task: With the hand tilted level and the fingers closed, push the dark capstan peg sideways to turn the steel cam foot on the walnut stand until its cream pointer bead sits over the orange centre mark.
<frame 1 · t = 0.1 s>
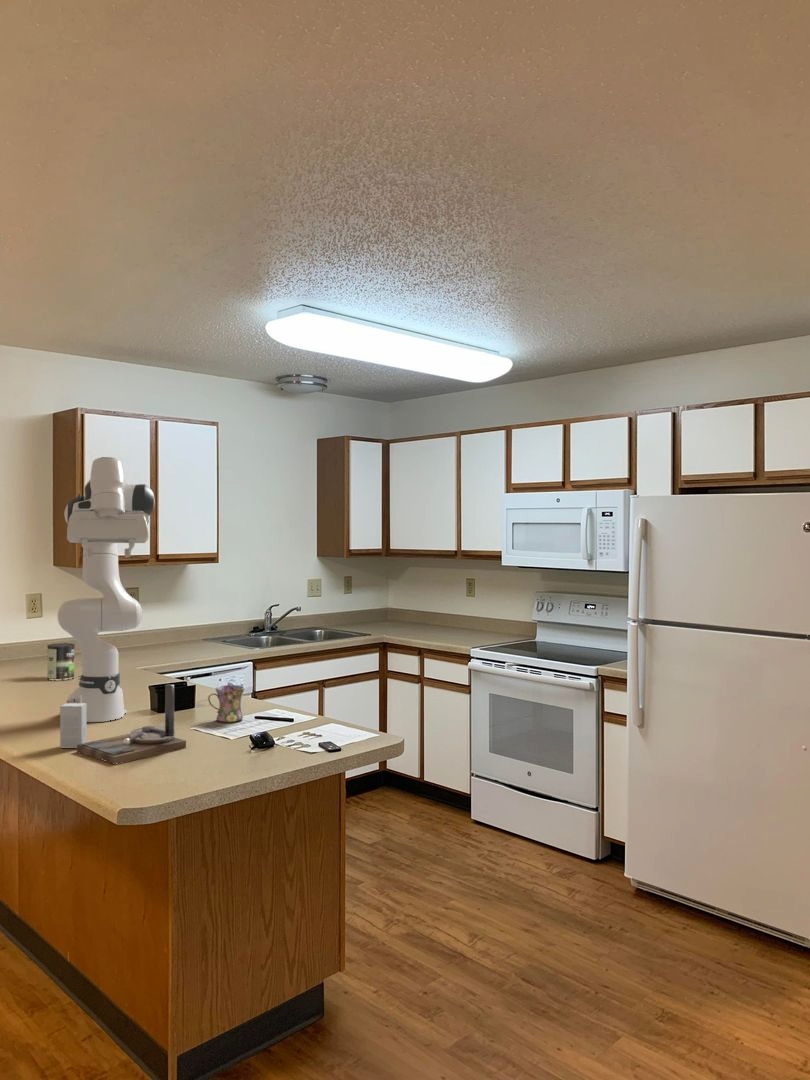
hand: (108, 556, 210), 54 cm above the countertop, tool tilted 30°, fingers open, 8 cm apart
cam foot: (150, 713, 223), point 10 cm above the countertop, hinge at 32.0°
coffee can: (60, 679, 330), on the countertop
stand: (132, 749, 224), on the countertop
skincare box: (73, 747, 226), on the countertop
mug: (225, 721, 259), on the countertop
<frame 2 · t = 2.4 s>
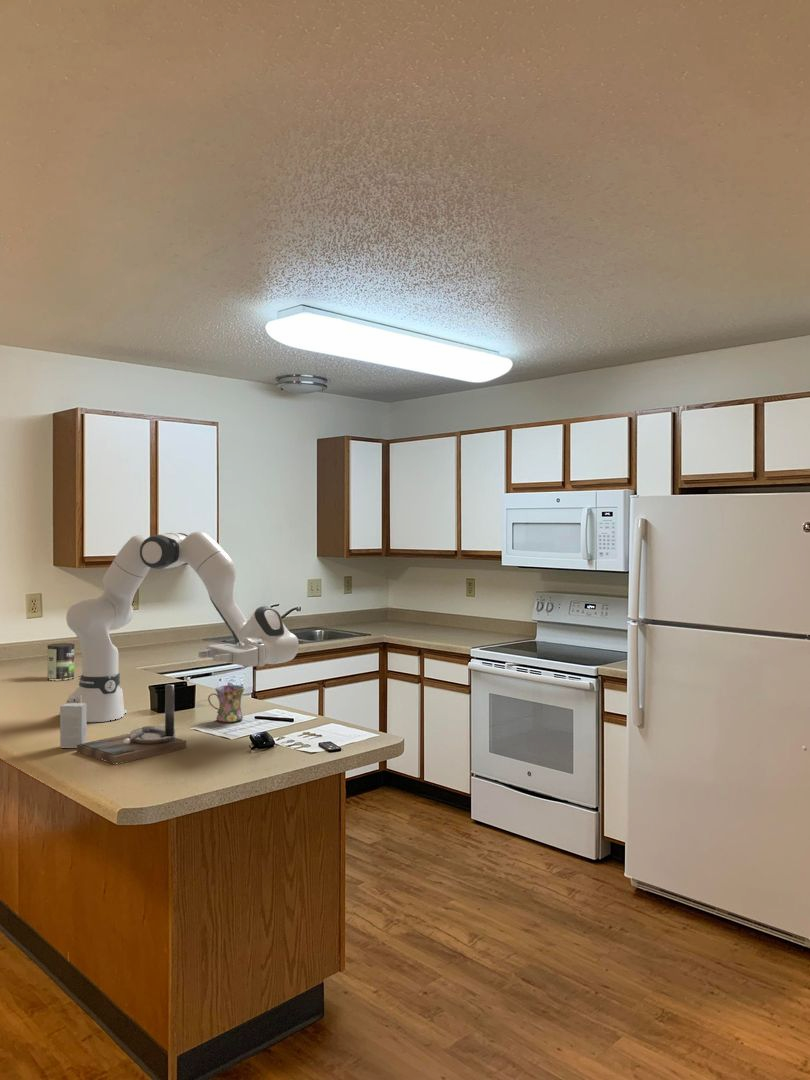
hand: (206, 656, 230), 25 cm above the countertop, tool horizontal, fingers open, 8 cm apart
nothing on the countertop moved.
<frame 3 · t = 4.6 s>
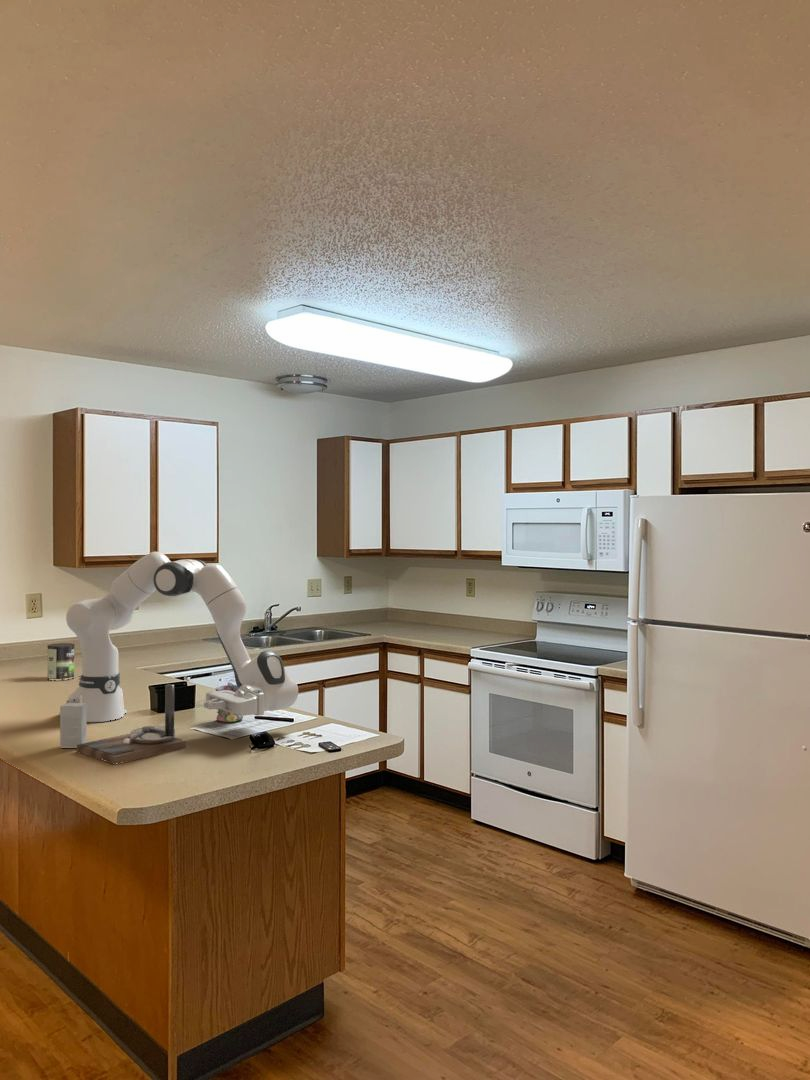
hand: (206, 705, 230), 11 cm above the countertop, tool horizontal, fingers closed
nothing on the countertop moved.
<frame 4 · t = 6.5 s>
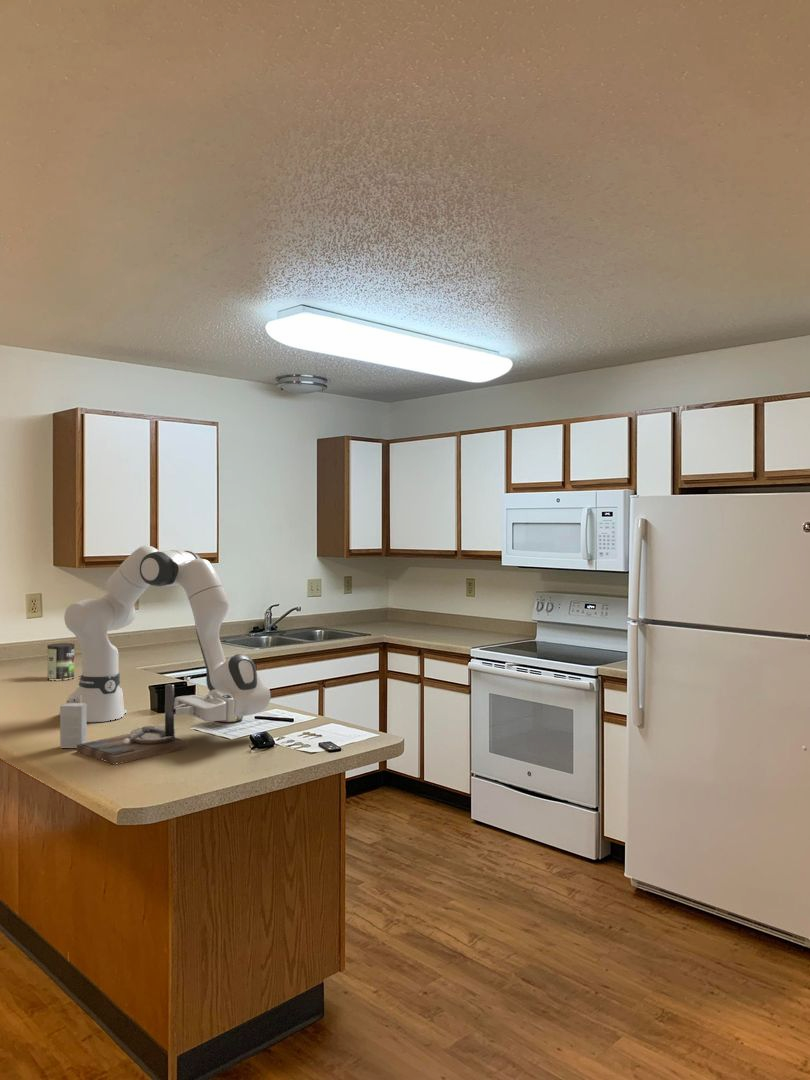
hand: (173, 711, 223), 11 cm above the countertop, tool horizontal, fingers closed, pressing on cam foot
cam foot: (150, 713, 223), point 10 cm above the countertop, hinge at 31.8°, touching gripper
everything else where it was.
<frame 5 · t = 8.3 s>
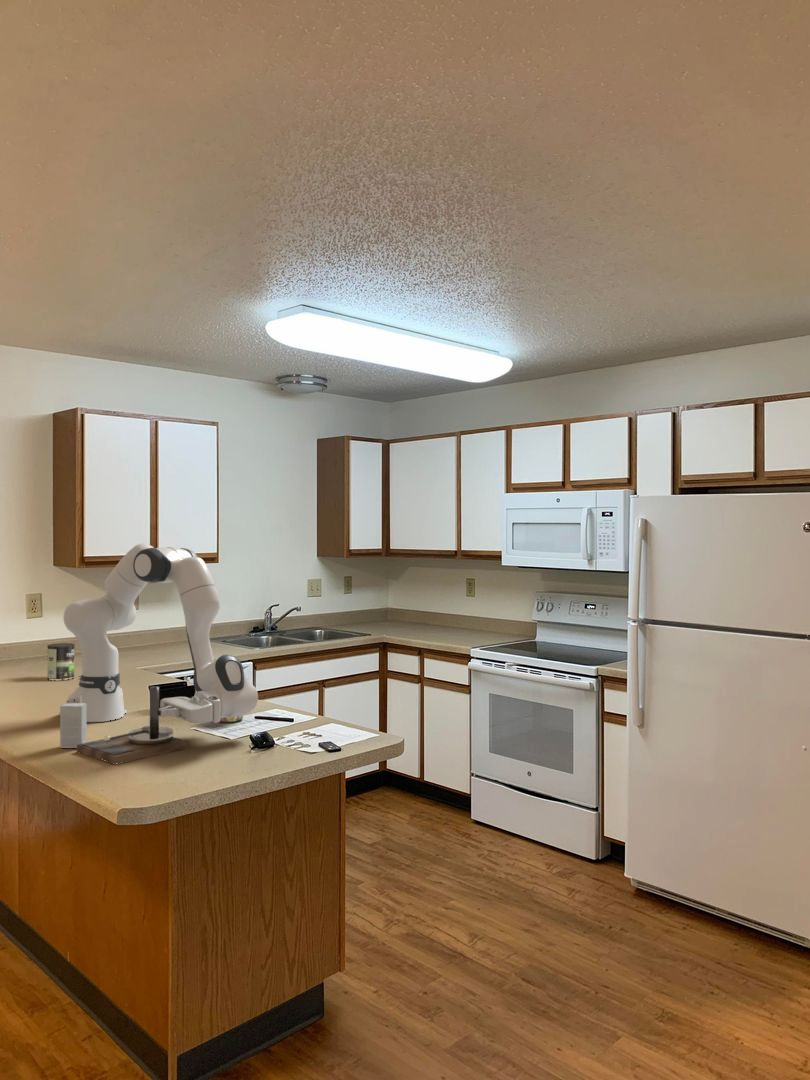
hand: (159, 713, 220), 11 cm above the countertop, tool horizontal, fingers closed
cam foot: (141, 713, 223), point 10 cm above the countertop, hinge at 3.2°
everything else where it was.
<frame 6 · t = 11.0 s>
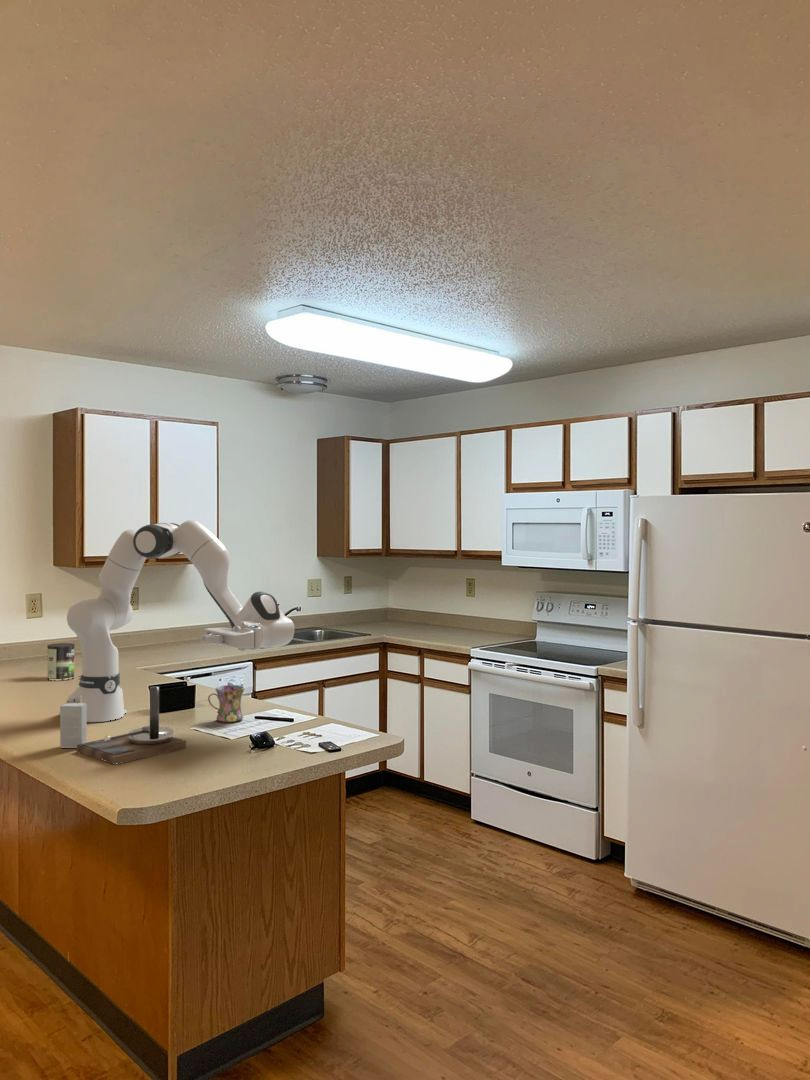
hand: (203, 639, 233), 30 cm above the countertop, tool horizontal, fingers closed
nothing on the countertop moved.
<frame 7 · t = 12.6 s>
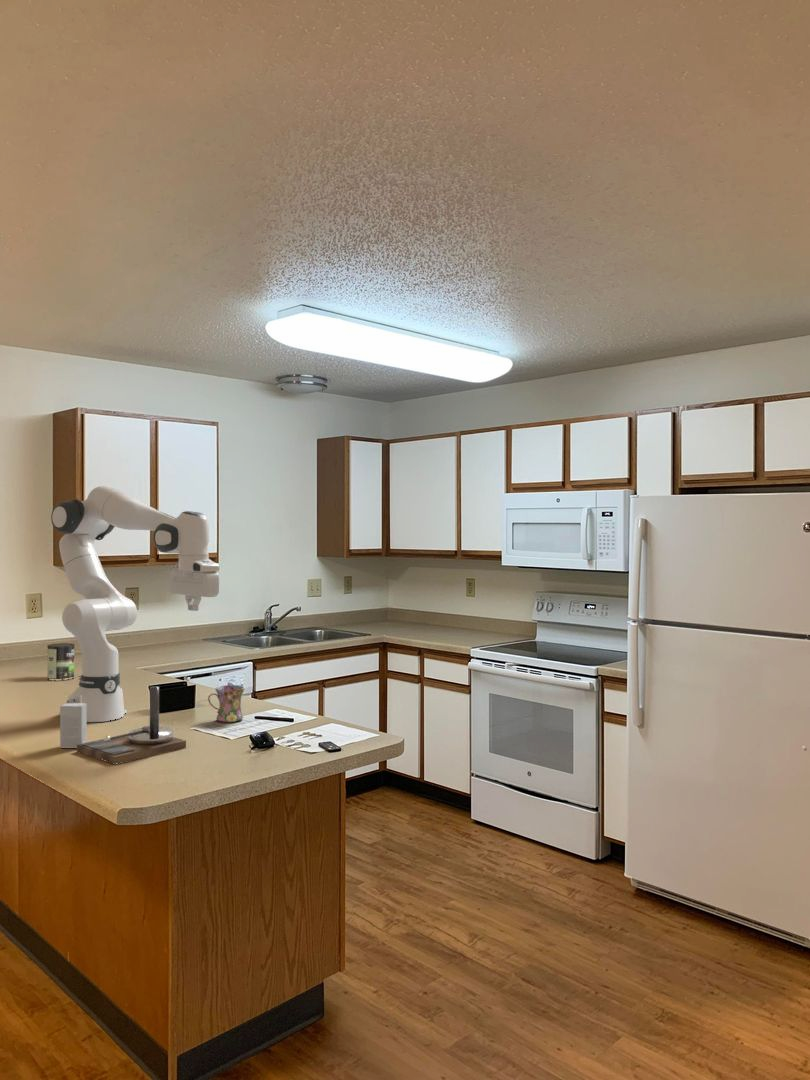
hand: (193, 610, 244), 37 cm above the countertop, tool pointing down, fingers closed
nothing on the countertop moved.
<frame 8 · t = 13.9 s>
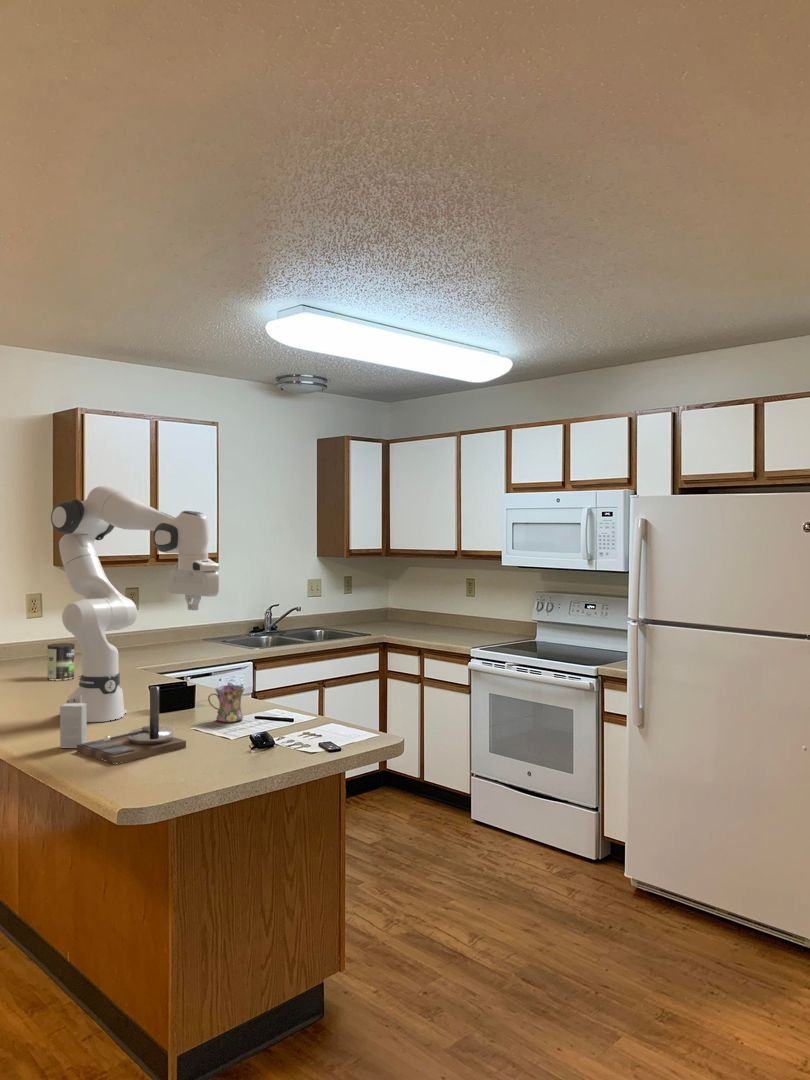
hand: (192, 610, 244), 37 cm above the countertop, tool pointing down, fingers closed
nothing on the countertop moved.
at the end: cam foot at +3° (first picture: +32°); skincare box moved 0.2 cm from its start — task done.
